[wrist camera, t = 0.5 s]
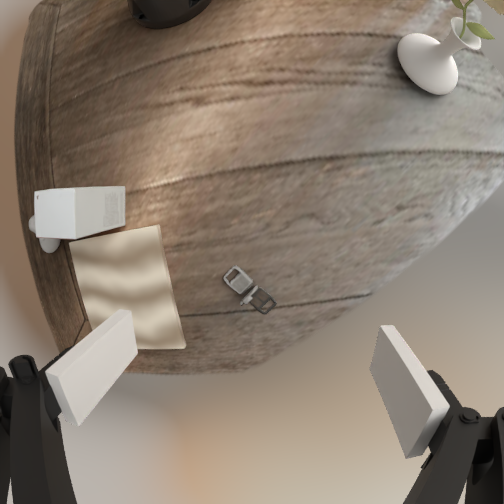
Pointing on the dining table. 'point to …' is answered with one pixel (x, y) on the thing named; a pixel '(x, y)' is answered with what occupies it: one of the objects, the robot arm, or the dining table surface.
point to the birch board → (129, 284)
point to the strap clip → (255, 295)
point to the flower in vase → (442, 51)
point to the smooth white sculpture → (45, 239)
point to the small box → (78, 211)
